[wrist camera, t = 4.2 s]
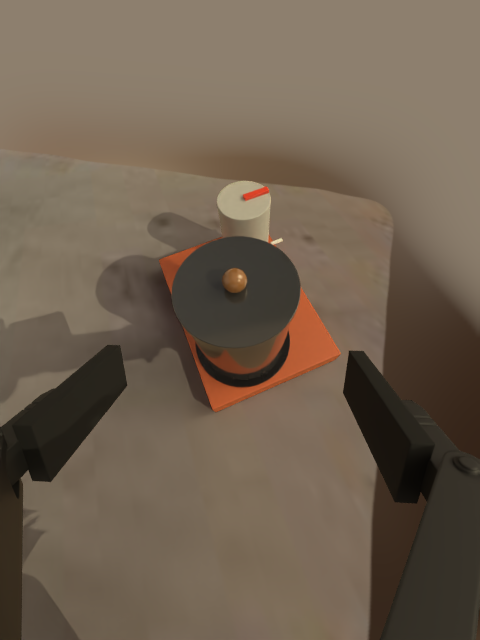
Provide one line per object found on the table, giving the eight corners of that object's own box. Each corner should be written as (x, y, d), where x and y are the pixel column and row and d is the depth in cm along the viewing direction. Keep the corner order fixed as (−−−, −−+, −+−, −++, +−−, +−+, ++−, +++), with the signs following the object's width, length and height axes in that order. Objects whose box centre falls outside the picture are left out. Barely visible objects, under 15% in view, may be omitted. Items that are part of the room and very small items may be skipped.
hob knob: (234, 276, 30) (228, 224, 23) (219, 245, 32) (208, 187, 25) (274, 261, 30) (280, 205, 23) (256, 231, 32) (257, 171, 25)
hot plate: (161, 263, 34) (155, 252, 32) (265, 225, 35) (265, 212, 33) (215, 412, 26) (212, 409, 24) (344, 355, 28) (351, 348, 26)
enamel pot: (188, 319, 28) (148, 246, 18) (263, 289, 29) (267, 204, 19) (217, 397, 24) (189, 363, 14) (301, 360, 25) (332, 304, 15)
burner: (183, 318, 28) (183, 317, 28) (265, 286, 29) (265, 285, 29) (215, 403, 24) (214, 403, 24) (307, 363, 26) (307, 363, 25)
